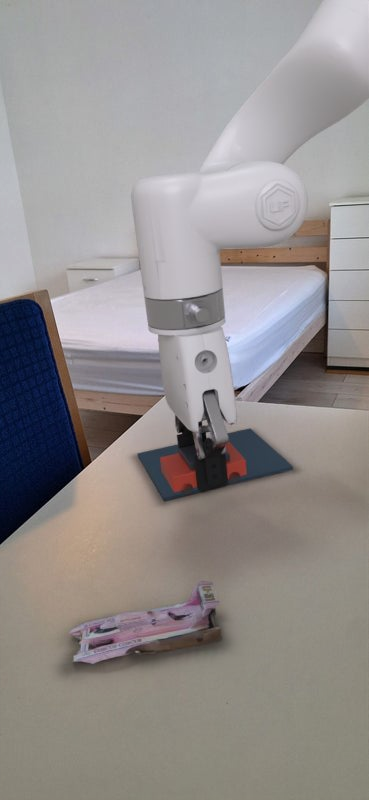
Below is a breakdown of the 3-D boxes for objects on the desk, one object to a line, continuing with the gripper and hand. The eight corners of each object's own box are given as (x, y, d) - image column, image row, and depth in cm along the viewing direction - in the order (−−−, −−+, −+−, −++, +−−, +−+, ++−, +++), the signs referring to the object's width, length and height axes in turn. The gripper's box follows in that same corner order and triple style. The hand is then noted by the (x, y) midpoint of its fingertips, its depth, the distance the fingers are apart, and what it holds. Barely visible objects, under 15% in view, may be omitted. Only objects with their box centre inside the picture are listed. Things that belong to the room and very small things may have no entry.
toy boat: (70, 678, 50) (62, 640, 48) (73, 630, 55) (66, 594, 53) (225, 651, 51) (222, 613, 49) (214, 607, 56) (210, 571, 55)
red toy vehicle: (247, 479, 63) (230, 460, 67) (245, 452, 62) (228, 434, 66) (174, 498, 61) (162, 476, 66) (171, 470, 60) (158, 450, 64)
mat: (250, 431, 92) (250, 428, 92) (293, 469, 80) (292, 466, 79) (137, 456, 88) (137, 453, 87) (163, 501, 75) (163, 497, 75)
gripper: (257, 321, 51) (269, 505, 57) (193, 290, 66) (209, 438, 73) (174, 337, 49) (196, 525, 55) (127, 301, 64) (149, 452, 71)
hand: (203, 474), depth 64 cm, fingers closed on red toy vehicle, 5 cm apart
